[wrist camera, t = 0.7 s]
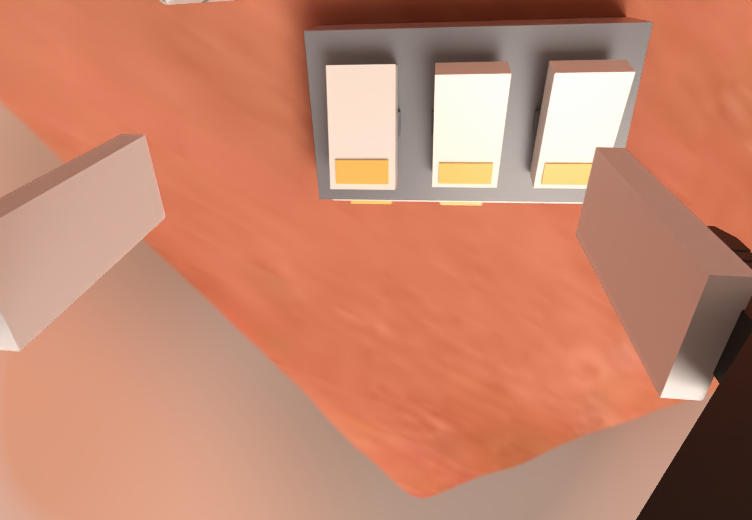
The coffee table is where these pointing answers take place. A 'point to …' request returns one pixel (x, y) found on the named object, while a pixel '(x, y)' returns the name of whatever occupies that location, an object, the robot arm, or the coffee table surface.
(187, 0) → the ink box
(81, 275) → the robot arm
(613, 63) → the block
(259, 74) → the coffee table surface
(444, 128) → the rocker
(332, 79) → the rocker
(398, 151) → the switch unit
